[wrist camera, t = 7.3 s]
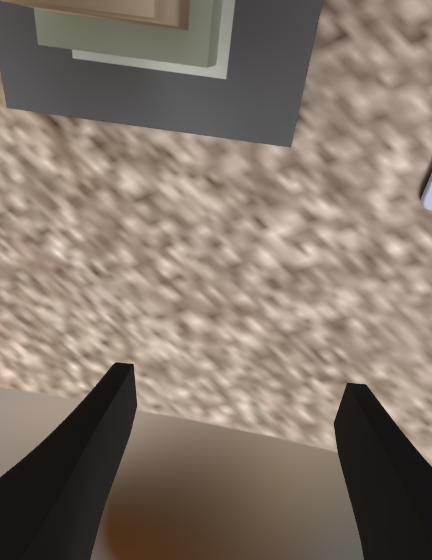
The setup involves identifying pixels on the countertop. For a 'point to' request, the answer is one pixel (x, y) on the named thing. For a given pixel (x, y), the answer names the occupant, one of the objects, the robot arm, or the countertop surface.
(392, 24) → the countertop surface
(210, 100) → the mat
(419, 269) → the countertop surface
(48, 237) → the countertop surface
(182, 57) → the sage block
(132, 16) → the birch block
